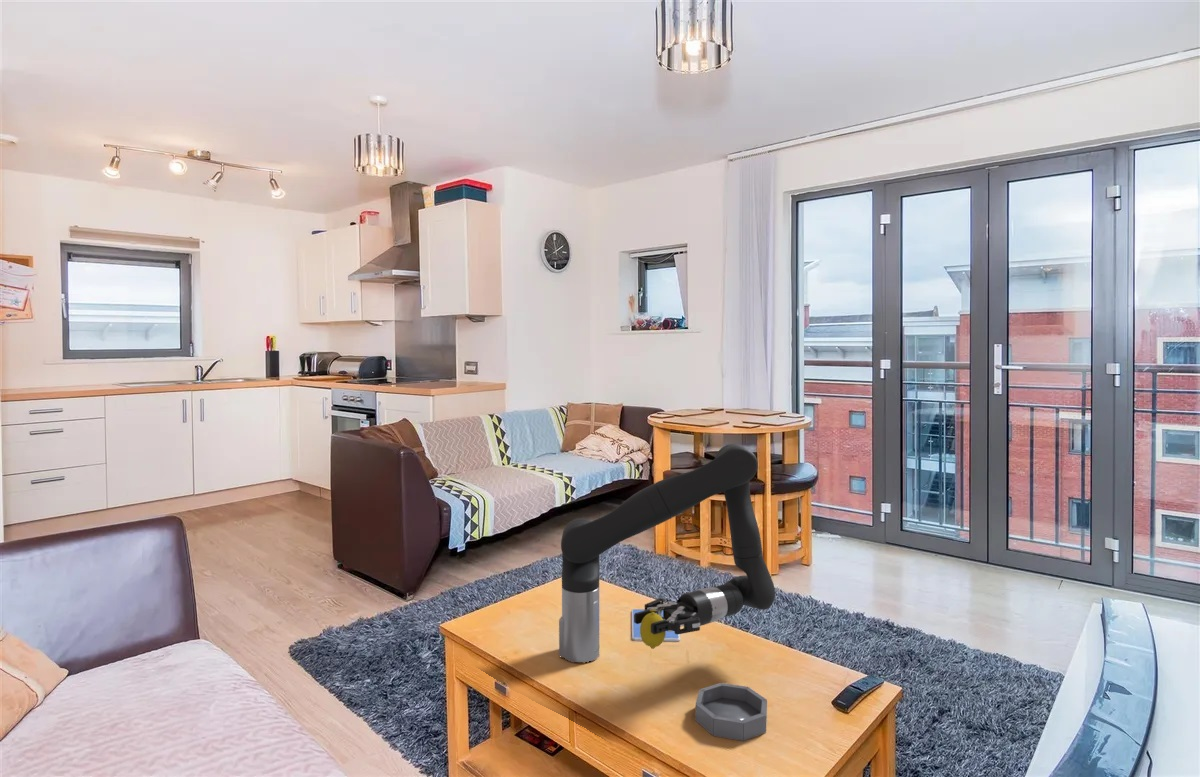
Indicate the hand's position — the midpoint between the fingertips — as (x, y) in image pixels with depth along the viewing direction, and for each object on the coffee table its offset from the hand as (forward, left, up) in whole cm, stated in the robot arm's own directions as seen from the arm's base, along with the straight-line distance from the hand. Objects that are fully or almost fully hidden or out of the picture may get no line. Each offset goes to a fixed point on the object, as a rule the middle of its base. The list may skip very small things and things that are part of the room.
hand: (643, 623), depth 133 cm
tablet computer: (-5, +37, -17) cm, 41 cm away
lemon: (+2, +2, -6) cm, 7 cm away
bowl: (+19, -2, -16) cm, 25 cm away
